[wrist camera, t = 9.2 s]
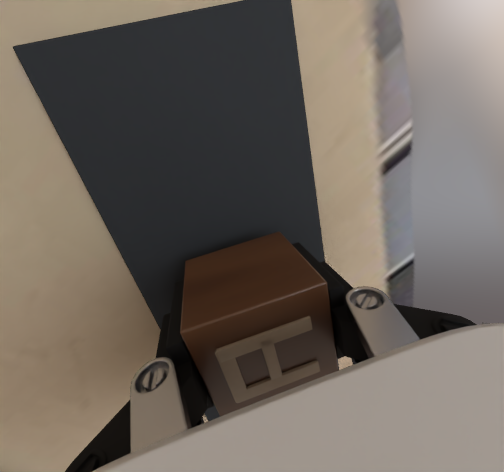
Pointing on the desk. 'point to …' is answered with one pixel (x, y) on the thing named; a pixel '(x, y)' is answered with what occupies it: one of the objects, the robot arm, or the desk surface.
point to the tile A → (256, 321)
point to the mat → (185, 134)
